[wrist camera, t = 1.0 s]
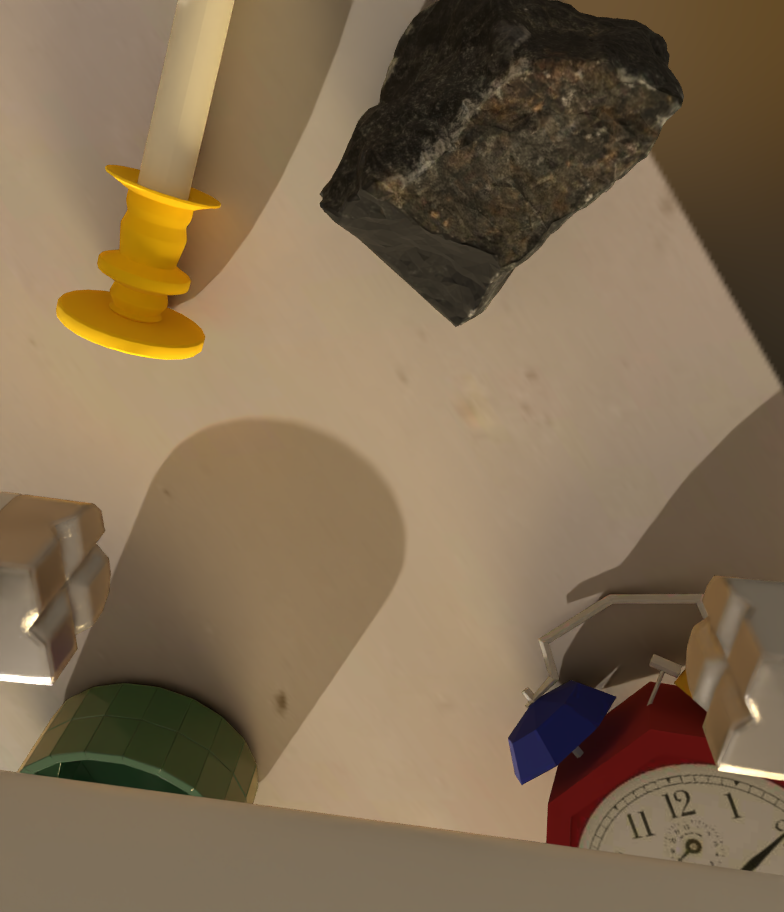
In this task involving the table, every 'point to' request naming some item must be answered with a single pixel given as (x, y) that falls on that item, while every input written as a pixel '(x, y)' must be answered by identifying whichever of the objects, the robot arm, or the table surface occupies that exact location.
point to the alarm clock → (643, 769)
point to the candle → (159, 204)
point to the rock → (496, 139)
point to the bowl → (145, 744)
